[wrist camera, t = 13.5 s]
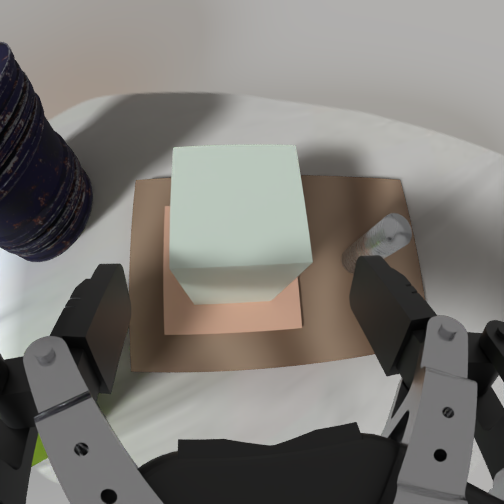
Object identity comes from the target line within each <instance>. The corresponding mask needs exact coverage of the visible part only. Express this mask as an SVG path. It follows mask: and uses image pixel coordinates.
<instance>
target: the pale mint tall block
mask: <svg viewBox="0 0 504 504" xmlns="http://www.w3.org/2000/svg"><path fill="white" fill-rule="evenodd" d="M312 263H313V260H312V252H311V244H310V237H309V229H308V222H307V215H306V208H305V201H304V194H303V188H302V181H301V175H300V169H299V163H298V157H297V151H296V145H208V146H187V147H173V158H172V176H171V199H170V243H169V269H170V270H171V272H172V273H173V275H174V276H175V278H176V279H177V281H178V282H179V283H180V285H181V286H182V288H183V289H184V291H185V292H186V293H187V295H188V296H189V298H190V299H191V301H192V302H193V303H194V305H203V304H226V303H245V302H262V301H271V300H273V299H274V298H275V297H276V296H277V295H278V294H279V293H280V292H281V291H282V290H284V289H285V288H286V287H287V286H288V285H289V284H290V283H291V282H292V281H293V280H294V279H295V278H297V277H298V276H299V275H300V274H301V273H302V272H303V271H304V270H305V269H306V268H307V267H308V266H309V265H310V264H312Z"/></svg>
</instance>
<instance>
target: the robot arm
mask: <svg viewBox="0 0 504 504" xmlns="http://www.w3.org/2000/svg"><path fill="white" fill-rule="evenodd" d="M349 302H350V307H351V310H352V312H353V313H354V315H355V317H356V319H357V321H358V323H359V324H360V326H361V328H362V330H363V332H364V334H365V336H366V338H367V339H368V341H369V343H370V345H371V347H372V349H373V351H374V353H375V355H376V357H377V358H378V360H379V362H380V364H381V366H382V368H383V370H384V372H385V374H386V376H390V375H395V374H399V373H400V375H401V377H402V378H401V380H400V382H399V384H398V387H397V391H396V394H395V397H394V401H393V404H392V407H391V410H390V413H389V416H388V419H387V422H386V425H385V428H384V430H383V432H382V434H381V436H379V435H375V434H367V433H360V430H359V428H358V425H357V422H354V423H350V424H345V425H340V426H335V427H329V428H323V429H318V430H314V431H312V432H309V433H307V434H304V435H302V436H299V437H296V438H294V439H291V440H288V441H285V442H283V443H280V444H277V445H271V446H269V445H260V444H252V443H245V442H239V441H232V440H226V439H207V440H180V439H178V451H176V452H171V453H168V454H165V455H161V456H159V457H157V458H155V459H152V460H150V461H149V462H147V463H145V464H143V465H142V466H141V467H139V468H138V466H137V465H136V463H135V462H134V461H133V459H132V458H131V456H130V455H129V454H128V452H127V451H126V449H125V448H124V446H123V445H122V443H121V442H120V440H119V439H118V437H117V436H116V434H115V432H114V431H113V429H112V428H111V426H110V424H109V423H108V421H107V419H106V418H105V416H104V414H103V413H102V411H101V409H100V407H99V406H98V404H97V402H96V401H97V397H98V393H106V394H111V392H112V388H113V383H114V379H115V375H116V371H117V367H118V363H119V359H120V356H121V352H122V348H123V344H124V341H125V337H126V334H127V330H128V327H129V323H130V320H131V301H130V297H129V293H128V288H127V284H126V279H125V275H124V270H123V267H122V265H121V264H99V265H98V267H97V268H96V270H95V272H94V274H93V275H92V277H91V279H85V280H84V281H83V282H82V283H81V284H79V285H78V286H77V287H76V288H75V290H74V291H73V293H72V295H71V297H70V300H68V302H67V304H66V306H65V308H64V309H63V311H62V313H61V315H60V317H59V319H58V321H57V322H56V324H55V326H54V328H53V330H52V332H51V334H50V336H46V337H43V338H40V339H38V340H36V341H34V342H33V343H32V344H31V345H30V346H29V347H28V348H27V349H26V351H25V353H24V356H23V357H18V358H12V359H6V360H4V359H3V358H2V356H1V354H0V504H26V496H27V489H28V483H29V477H30V471H31V466H32V461H33V456H34V451H35V446H36V442H37V438H38V433H39V436H40V438H41V441H42V443H43V446H44V448H45V451H46V453H47V456H48V458H49V460H50V463H51V465H52V467H53V470H54V472H55V474H56V476H57V478H58V480H59V482H60V484H61V486H62V488H63V490H64V492H65V494H66V496H67V498H68V500H69V502H70V504H504V408H503V406H502V404H501V402H500V401H499V399H498V397H497V396H496V394H495V392H494V390H493V389H492V387H491V385H492V384H493V383H494V381H495V380H496V378H497V377H498V375H500V377H501V378H502V380H503V382H504V322H501V321H498V320H493V321H490V322H488V323H487V325H486V327H485V329H484V331H483V333H470V332H467V331H466V329H465V328H464V326H463V325H462V324H461V323H460V322H458V321H457V320H455V319H453V318H451V317H448V316H442V315H439V316H437V315H436V313H435V312H434V311H433V310H432V308H431V307H430V306H429V305H428V303H427V302H426V301H425V300H424V298H423V297H422V296H421V295H420V294H419V293H417V290H416V289H415V288H414V286H412V285H411V283H410V282H409V281H408V279H407V278H406V277H405V276H404V275H403V274H401V273H400V272H398V271H397V270H395V269H394V268H391V267H390V266H389V265H388V263H387V262H386V261H385V260H384V259H383V258H382V257H381V256H380V255H369V256H359V257H358V259H357V261H356V266H355V271H354V275H353V280H352V284H351V289H350V294H349ZM474 438H475V440H476V442H477V444H478V446H479V449H480V451H481V453H482V455H483V458H484V460H485V462H486V465H487V467H488V469H489V472H490V474H491V477H492V479H493V488H492V489H490V490H489V492H488V493H487V492H485V491H483V490H481V489H479V488H478V487H476V486H474V485H472V484H470V483H468V482H467V478H468V473H469V467H470V461H471V455H472V448H473V440H474Z"/></svg>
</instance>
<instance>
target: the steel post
mask: <svg viewBox="0 0 504 504" xmlns="http://www.w3.org/2000/svg"><path fill="white" fill-rule="evenodd" d="M411 237H412V230H411V227H410V224H409V222H408V221H407V220H406V219H405V218H404V217H403V216H402V215H400V214H397V213H390V214H388V215H387V216H385V217H384V218H383V219H382V220H381V221H380V222H378V223H377V224H376V225H375V226H374V227H373V228H371V229H370V230H369V231H368V232H367V233H365V234H364V235H363V236H362V237H361V238H359V239H358V240H357V241H356V242H354V243H353V244H352V245H351V246H350V247H348V248H347V249H346V250H345V251H344V252H343V254H342V258H341V260H342V265H343V267H344V268H345V269H346V270H347V271H348V272H350V273H353V274H354V271H355V266H356V261H357V259H358V257H359V256H369V255H380V256H381V257H382V258H383V259H384V258H386V257H388V256H389V255H391V254H393V253H394V252H396V251H398V250H399V249H401V248H403V247H404V246H406V245H407V244H408V243H409V242H410V240H411Z"/></svg>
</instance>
